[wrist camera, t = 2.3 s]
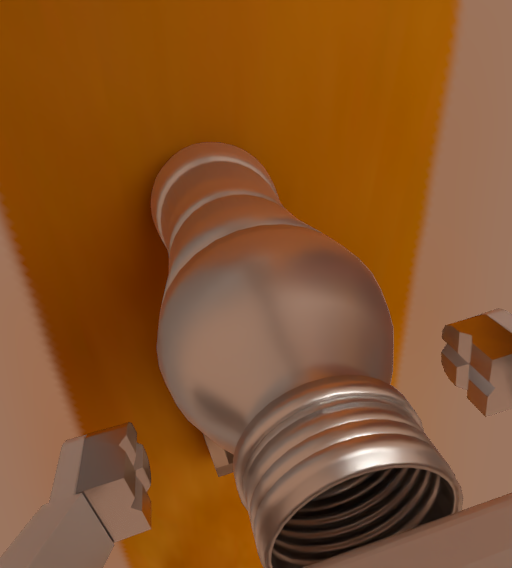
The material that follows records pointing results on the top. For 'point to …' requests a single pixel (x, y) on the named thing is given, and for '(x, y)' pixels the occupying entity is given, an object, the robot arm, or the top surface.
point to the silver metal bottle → (287, 365)
